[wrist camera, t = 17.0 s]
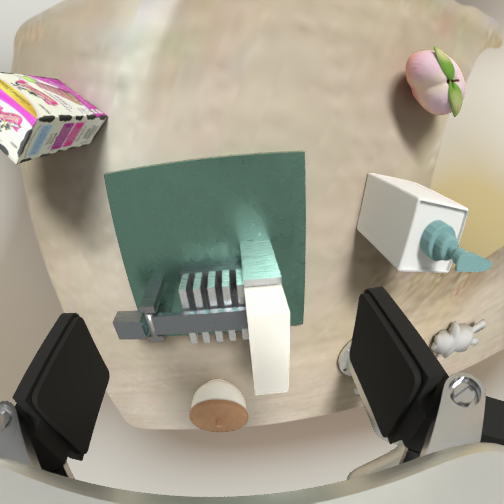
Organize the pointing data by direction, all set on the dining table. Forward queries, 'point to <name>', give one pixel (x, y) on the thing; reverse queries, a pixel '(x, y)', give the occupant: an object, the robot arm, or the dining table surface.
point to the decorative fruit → (436, 81)
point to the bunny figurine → (456, 338)
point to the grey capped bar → (178, 322)
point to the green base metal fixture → (211, 232)
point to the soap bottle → (415, 227)
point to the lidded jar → (218, 407)
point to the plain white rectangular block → (268, 337)
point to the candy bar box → (43, 117)
